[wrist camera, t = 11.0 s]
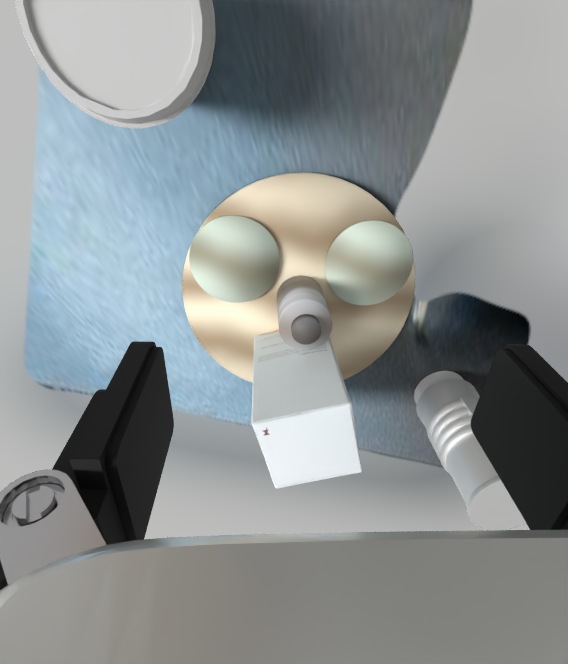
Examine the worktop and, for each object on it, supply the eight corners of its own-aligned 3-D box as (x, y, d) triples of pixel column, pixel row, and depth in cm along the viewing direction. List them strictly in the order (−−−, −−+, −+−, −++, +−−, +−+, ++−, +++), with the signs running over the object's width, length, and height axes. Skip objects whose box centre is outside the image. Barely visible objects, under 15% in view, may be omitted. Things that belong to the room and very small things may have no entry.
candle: (477, 367, 45) (566, 474, 31) (460, 415, 48) (534, 530, 35) (417, 365, 44) (482, 474, 31) (404, 414, 47) (457, 530, 34)
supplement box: (269, 393, 43) (271, 491, 32) (253, 334, 39) (248, 422, 28) (337, 380, 42) (363, 475, 31) (327, 319, 39) (352, 402, 28)
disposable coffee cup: (234, 122, 32) (220, 128, 21) (112, 122, 31) (37, 129, 21) (225, -37, 27) (202, -128, 17) (82, -38, 27) (-34, -132, 16)
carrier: (174, 166, 33) (150, 181, 26) (433, 177, 34) (477, 194, 28) (192, 382, 44) (179, 434, 37) (389, 384, 45) (413, 434, 38)
